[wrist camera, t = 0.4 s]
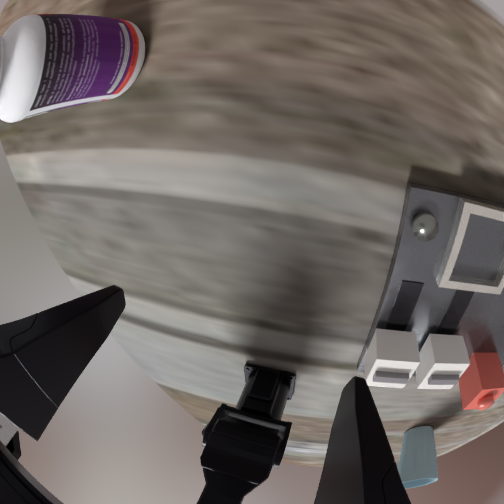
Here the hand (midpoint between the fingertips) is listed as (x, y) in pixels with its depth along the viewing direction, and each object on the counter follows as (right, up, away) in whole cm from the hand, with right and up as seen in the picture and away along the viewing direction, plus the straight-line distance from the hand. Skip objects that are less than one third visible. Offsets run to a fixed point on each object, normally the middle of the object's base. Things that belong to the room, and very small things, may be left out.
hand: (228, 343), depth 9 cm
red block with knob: (+26, -10, +11) cm, 30 cm away
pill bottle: (-11, +21, +9) cm, 25 cm away
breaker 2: (+19, -6, +11) cm, 23 cm away
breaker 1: (+14, -6, +13) cm, 20 cm away
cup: (+29, -28, +23) cm, 46 cm away
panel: (+22, -2, +10) cm, 24 cm away
